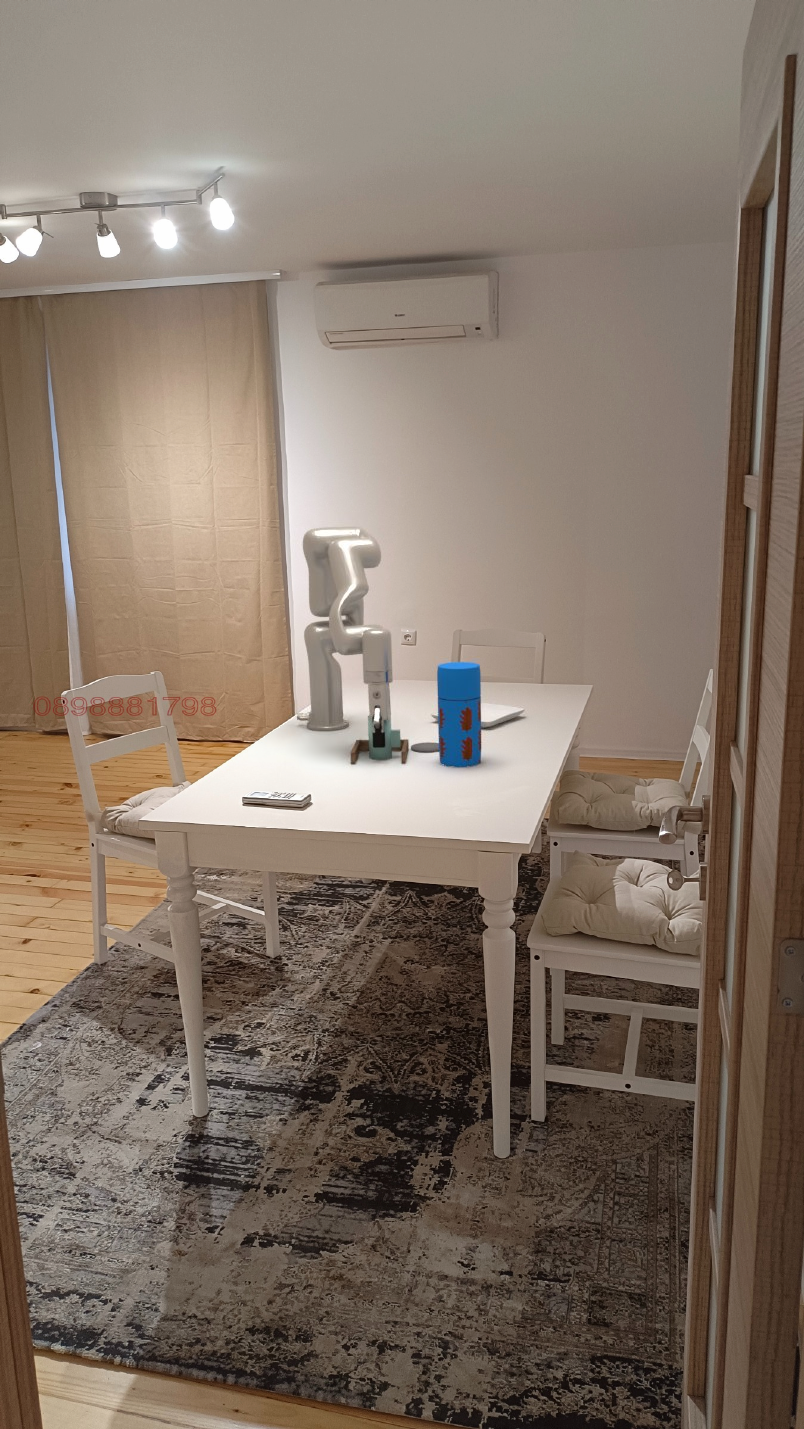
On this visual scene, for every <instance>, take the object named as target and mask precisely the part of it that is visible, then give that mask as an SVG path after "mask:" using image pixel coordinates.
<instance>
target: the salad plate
mask: <svg viewBox="0 0 804 1429" xmlns="http://www.w3.org/2000/svg"><path fill="white" fill-rule="evenodd" d="M524 712H525V707H524V708H522V707H515V706H509V705H503V704H497V703H486V702H481V729H482V728H485V729H486V728H487V729H488V728H491V727H493V726H497V725H500V724H502V722H503V723H505V722H507V720H508V721H510V720H512V719H515V718H517V717H519V716H520V715H522V714H523V713H524ZM430 715H431V716H430V717H432V718H433V719H434V720H436V721H438V711H435V712H433V713H431V714H430ZM499 723H500V724H499Z"/></svg>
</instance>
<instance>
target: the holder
mask: <svg viewBox="0 0 804 1429" xmlns="http://www.w3.org/2000/svg"><path fill="white" fill-rule="evenodd" d="M400 740H401V746H400V747H392V752H401V753H400V754H401V758H400V759H401V764H402V765H403V764H407V759H408V755H409V751H410V749H409V747H410V746H409V744H410V743H409V739H408V738H404V739H403V738H400ZM361 752H362V753H363V752H365V753H366V752H368V753H369V739H356V741H355V742H354V745H353V747H352V749H351V752H350V764H351V765H356V762H357V761H358V758H359V755H360V753H361Z"/></svg>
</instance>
